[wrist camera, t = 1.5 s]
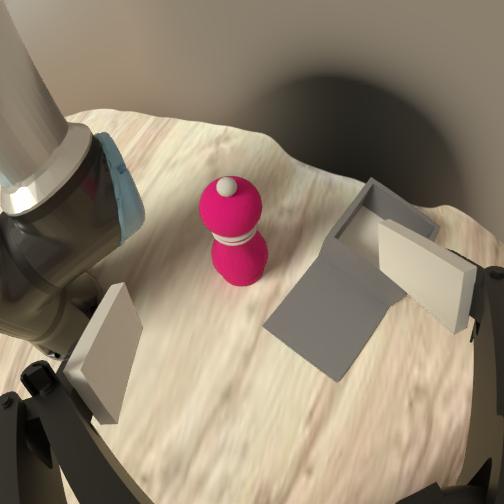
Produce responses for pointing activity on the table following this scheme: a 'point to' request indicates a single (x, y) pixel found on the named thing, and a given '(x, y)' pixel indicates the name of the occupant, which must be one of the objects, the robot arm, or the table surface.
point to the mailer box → (346, 284)
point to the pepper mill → (235, 229)
